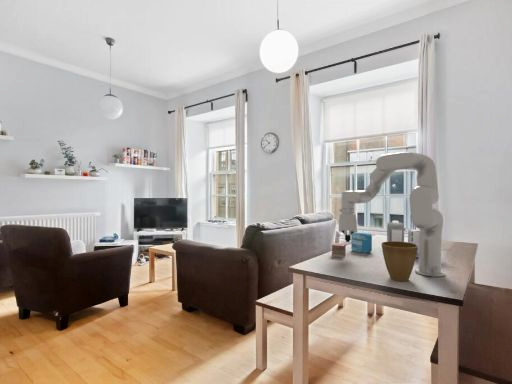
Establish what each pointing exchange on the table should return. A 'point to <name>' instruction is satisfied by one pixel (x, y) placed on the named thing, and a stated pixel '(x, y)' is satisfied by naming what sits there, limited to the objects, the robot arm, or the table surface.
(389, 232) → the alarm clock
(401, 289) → the table surface
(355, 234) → the data package
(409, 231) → the candy box
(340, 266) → the table surface
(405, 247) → the plant pot
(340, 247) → the beige cube
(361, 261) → the table surface
